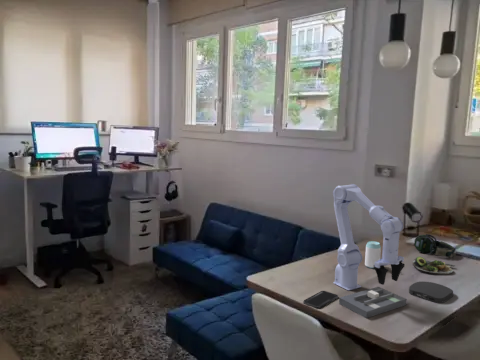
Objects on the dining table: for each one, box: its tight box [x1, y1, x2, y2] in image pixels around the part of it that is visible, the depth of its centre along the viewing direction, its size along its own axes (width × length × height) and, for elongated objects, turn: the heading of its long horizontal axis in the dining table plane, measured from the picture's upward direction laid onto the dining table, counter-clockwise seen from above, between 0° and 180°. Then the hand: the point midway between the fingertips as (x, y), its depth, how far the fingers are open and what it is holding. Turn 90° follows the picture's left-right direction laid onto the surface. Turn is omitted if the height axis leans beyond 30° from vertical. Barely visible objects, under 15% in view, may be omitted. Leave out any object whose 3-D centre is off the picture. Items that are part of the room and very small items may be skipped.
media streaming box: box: [408, 281, 454, 304], centre depth 178 cm, size 15×15×3 cm
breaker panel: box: [338, 286, 407, 319], centre depth 167 cm, size 14×22×4 cm, turn 121°
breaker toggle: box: [367, 290, 379, 299], centre depth 167 cm, size 4×2×2 cm, turn 31°
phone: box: [302, 290, 339, 309], centre depth 171 cm, size 8×1×15 cm
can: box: [364, 240, 382, 269], centre depth 209 cm, size 7×7×12 cm
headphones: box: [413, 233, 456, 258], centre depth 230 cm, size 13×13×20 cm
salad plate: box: [412, 256, 456, 275], centre depth 207 cm, size 19×18×5 cm
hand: (388, 281), depth 168 cm, fingers open, 7 cm apart
